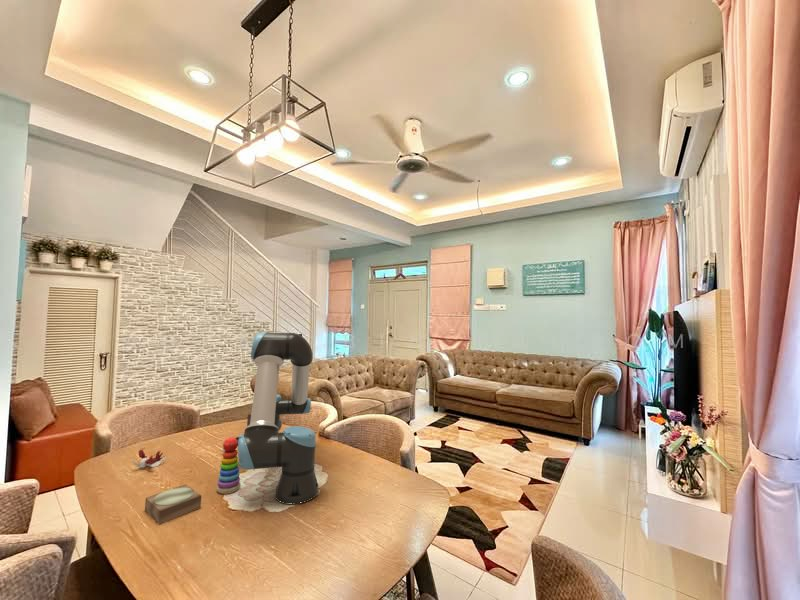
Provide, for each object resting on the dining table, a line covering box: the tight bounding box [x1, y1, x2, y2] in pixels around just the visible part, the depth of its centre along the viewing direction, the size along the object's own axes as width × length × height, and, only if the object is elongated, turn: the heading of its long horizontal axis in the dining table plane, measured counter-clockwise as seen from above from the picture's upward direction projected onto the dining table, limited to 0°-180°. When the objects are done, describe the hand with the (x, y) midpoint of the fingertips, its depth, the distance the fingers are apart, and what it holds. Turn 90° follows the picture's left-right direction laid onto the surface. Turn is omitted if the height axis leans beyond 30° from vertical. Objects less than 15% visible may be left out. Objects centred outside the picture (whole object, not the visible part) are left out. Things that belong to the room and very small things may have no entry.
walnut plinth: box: [144, 484, 202, 525], centre depth 113 cm, size 12×12×4 cm
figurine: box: [132, 447, 167, 469], centre depth 143 cm, size 15×12×7 cm
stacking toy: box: [216, 436, 241, 495], centre depth 127 cm, size 8×8×19 cm
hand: (240, 452), depth 135 cm, fingers open, 13 cm apart
